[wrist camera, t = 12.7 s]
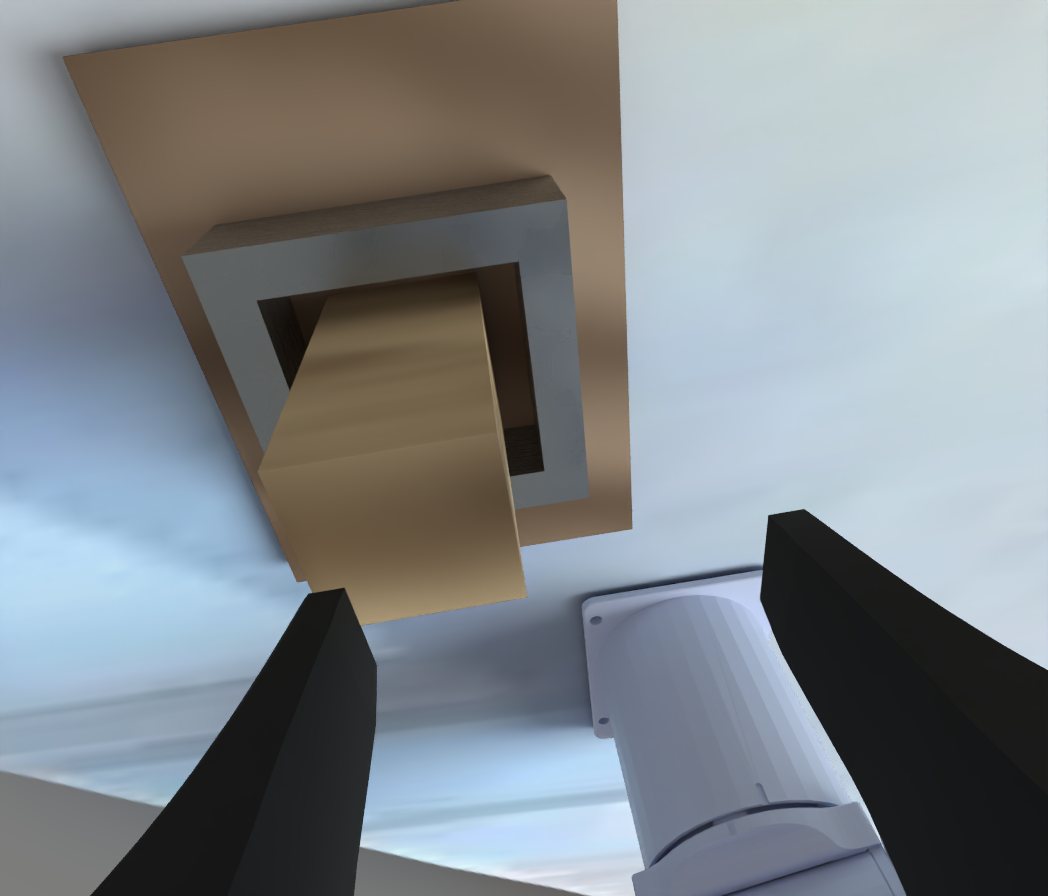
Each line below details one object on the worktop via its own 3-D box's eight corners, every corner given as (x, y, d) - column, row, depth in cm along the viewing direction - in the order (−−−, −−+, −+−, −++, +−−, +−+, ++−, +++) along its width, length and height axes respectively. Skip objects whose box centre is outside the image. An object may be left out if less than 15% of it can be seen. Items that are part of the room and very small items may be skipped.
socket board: (625, 511, 24) (651, 579, 21) (302, 562, 24) (282, 639, 21) (606, -20, 15) (646, -28, 12) (83, 54, 15) (-5, 64, 12)
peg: (498, 400, 20) (526, 597, 13) (367, 421, 20) (329, 631, 13) (476, 271, 17) (497, 432, 11) (327, 296, 17) (257, 471, 11)
